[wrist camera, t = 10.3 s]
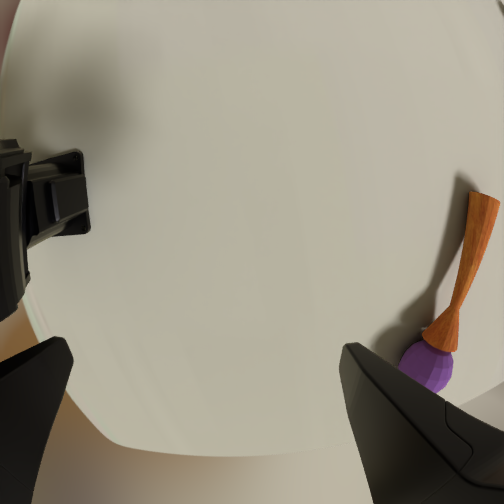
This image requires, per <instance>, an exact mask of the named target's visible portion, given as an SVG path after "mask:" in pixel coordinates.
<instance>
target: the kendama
mask: <svg viewBox="0 0 504 504" xmlns="http://www.w3.org/2000/svg"><path fill="white" fill-rule="evenodd" d="M499 206H500V202H499V201H498V200H497V199H495V198H493V197H490V196H488V195H485V194H482V193H478V192H469V203H468V214H467V222H466V230H465V237H464V243H463V249H462V255H461V260H460V265H459V270H458V275H457V279H456V283H455V287H454V291H453V295H452V299H451V303H450V306H449V307H448V308H447V309H446V310H445V311H444V312H443V313H442V314H441V315H440V316H439V317H438V318H437V319H436V320H435V321H434V322H433V323H432V324H431V325H430V326H429V327H427V328H426V329H425V330H424V331H423V333H422V336H423V339H424V340H422V341H419V342H417V343H414V344H413V345H412V346H411V347H409V348H408V349H407V350H406V351H405V353H404V355H403V357H402V359H401V361H400V363H399V365H398V369H399V370H400V371H402V372H403V373H405V374H407V375H408V376H410V377H411V378H413V379H414V380H416V381H417V382H419V383H420V384H422V385H423V386H425V387H426V388H428V389H429V390H431V391H433V392H434V393H437V392H439V391H440V390H441V389H443V388H444V387H445V386H446V385H447V383H448V381H449V380H450V378H451V375H452V368H453V362H454V361H453V358H452V355H451V352H455V351H456V350H457V345H458V329H459V309H460V307H461V305H462V303H463V301H464V299H465V297H466V295H467V293H468V291H469V288H470V286H471V284H472V282H473V280H474V277H475V275H476V273H477V270H478V268H479V265H480V263H481V260H482V258H483V255H484V253H485V250H486V247H487V244H488V241H489V239H490V236H491V233H492V230H493V226H494V223H495V220H496V217H497V213H498V209H499Z"/></svg>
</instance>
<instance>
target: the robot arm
mask: <svg viewBox="0 0 504 504" xmlns="http://www.w3.org/2000/svg"><path fill="white" fill-rule="evenodd" d="M31 155H32V152H29V151H24V149H21V148H20V147H19V146H18V143H17V141H16V139H3V140H0V322H1V321H3V320H4V319H5V318H7V317H9V316H10V315H12V314H13V313H14V312H15V311H16V310H17V308H18V305H17V303H18V302H19V301H20V299H21V298H22V296H23V295H24V293H25V288H26V286H27V284H28V283H29V281H30V272H29V271H28V261H27V249H29V248H31V247H33V246H34V245H36V244H38V243H40V242H42V241H44V240H46V239H48V238H49V237H54V236H66V235H79V234H86V233H88V232H89V231H90V229H91V225H90V218H89V211H88V207H89V206H88V198H87V189H86V178H85V174H84V160H83V154H82V153H81V152H72V153H68V154H65V155H61V156H57V157H54V158H50V159H47V160H43V161H40V162H37V163H34V164H31V165H29V161H31ZM76 156H78V160H76ZM83 225H85V227H86V230H85V229H84V227H83ZM73 362H74V359H73V355H72V353H71V351H70V349H69V346H68V344H67V342H66V340H65V339H64V338H62V337H57V336H54V337H51V338H49V339H47V340H45V341H43V342H41V343H39V344H37V345H35V346H33V347H31V348H29V349H27V350H25V351H23V352H20V353H18V354H16V355H14V356H12V357H10V358H8V359H6V360H4V361H2V362H0V504H31V502H32V496H33V491H34V487H35V482H36V479H37V475H38V471H39V467H40V464H41V460H42V457H43V453H44V450H45V447H46V444H47V440H48V438H49V435H50V431H51V429H52V426H53V423H54V420H55V417H56V415H57V412H58V409H59V407H60V404H61V401H62V399H63V395H64V392H65V389H66V385H67V382H68V379H69V376H70V372H71V369H72V366H73ZM339 373H340V378H341V383H342V388H343V393H344V399H345V404H346V409H347V414H348V418H349V421H350V425H351V428H352V431H353V434H354V437H355V441H356V444H357V447H358V451H359V453H360V457H361V460H362V464H363V467H364V471H365V474H366V478H367V481H368V485H369V488H370V492H371V496H372V500H373V503H374V504H504V431H501V430H499V429H497V428H495V427H493V426H491V425H489V424H487V423H484V422H483V421H481V420H479V419H477V418H475V417H473V416H471V415H469V414H467V413H466V412H464V411H463V410H461V409H459V408H458V407H456V406H454V405H453V404H451V403H450V402H448V401H446V402H445V399H443V398H442V397H440V396H439V395H437V394H436V393H434V392H433V391H431V390H429V389H428V388H426V387H425V386H423V385H422V384H420V383H419V382H417V381H416V380H414V379H413V378H411V377H410V376H408V375H407V374H405V373H403V372H402V371H400V370H399V369H397V368H396V367H394V366H393V365H391V364H390V363H388V362H387V361H385V360H384V359H382V358H381V357H379V356H378V355H376V354H375V353H373V352H372V351H370V350H369V349H367V348H366V347H364V346H363V345H361V344H360V343H358V342H354V343H346V344H345V345H344V346H343V349H342V354H341V359H340V364H339Z"/></svg>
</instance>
